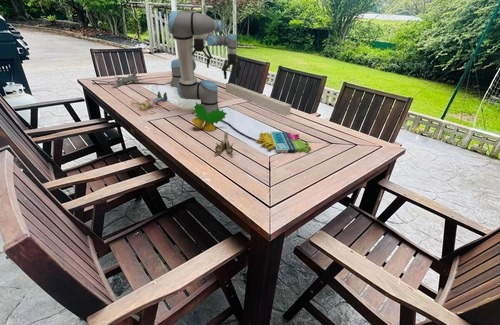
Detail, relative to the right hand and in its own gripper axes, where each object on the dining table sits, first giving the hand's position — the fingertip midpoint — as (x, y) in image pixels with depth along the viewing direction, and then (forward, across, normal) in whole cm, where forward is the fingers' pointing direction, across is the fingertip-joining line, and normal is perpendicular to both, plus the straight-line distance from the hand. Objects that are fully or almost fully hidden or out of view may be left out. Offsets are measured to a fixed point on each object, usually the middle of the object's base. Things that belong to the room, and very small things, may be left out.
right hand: (199, 67), depth 208 cm
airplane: (+25, +57, -62) cm, 87 cm away
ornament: (+26, +8, +66) cm, 72 cm away
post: (+25, -43, +15) cm, 52 cm away
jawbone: (+26, +8, +99) cm, 103 cm away
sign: (+26, -27, +97) cm, 104 cm away
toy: (+25, +38, +12) cm, 47 cm away
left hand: (+12, -33, -17) cm, 39 cm away
